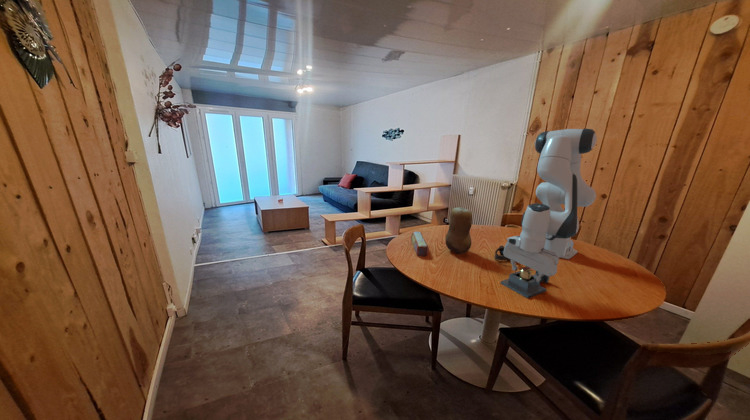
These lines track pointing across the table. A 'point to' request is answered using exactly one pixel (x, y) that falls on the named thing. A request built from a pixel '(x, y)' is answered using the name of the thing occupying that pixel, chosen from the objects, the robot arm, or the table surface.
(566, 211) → the robot arm
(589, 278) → the table surface
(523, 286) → the socket fitting
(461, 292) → the table surface
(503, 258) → the black mechanical part
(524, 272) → the brass valve
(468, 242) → the butternut squash
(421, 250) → the snack package
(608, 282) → the table surface
